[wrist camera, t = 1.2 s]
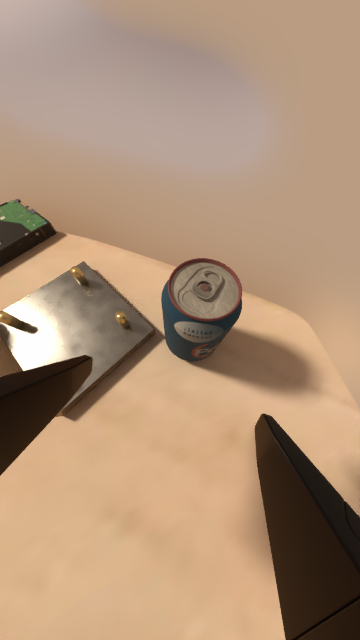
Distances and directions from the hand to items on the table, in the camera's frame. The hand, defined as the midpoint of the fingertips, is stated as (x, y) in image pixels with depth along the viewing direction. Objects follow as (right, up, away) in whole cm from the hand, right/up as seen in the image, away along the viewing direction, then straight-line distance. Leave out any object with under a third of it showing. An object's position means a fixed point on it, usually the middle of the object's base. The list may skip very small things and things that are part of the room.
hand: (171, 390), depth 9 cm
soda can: (+2, +1, +16) cm, 16 cm away
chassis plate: (-14, +2, +15) cm, 21 cm away
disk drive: (-30, +17, +22) cm, 41 cm away
